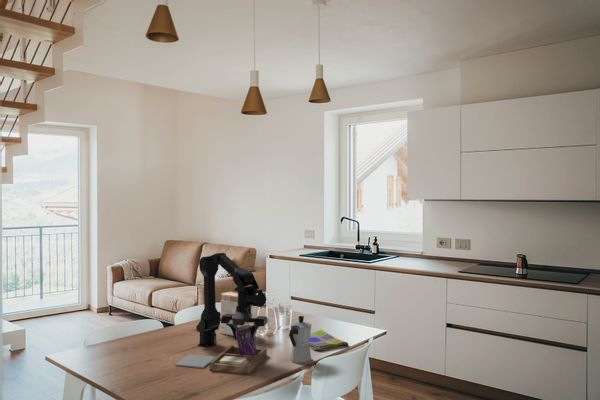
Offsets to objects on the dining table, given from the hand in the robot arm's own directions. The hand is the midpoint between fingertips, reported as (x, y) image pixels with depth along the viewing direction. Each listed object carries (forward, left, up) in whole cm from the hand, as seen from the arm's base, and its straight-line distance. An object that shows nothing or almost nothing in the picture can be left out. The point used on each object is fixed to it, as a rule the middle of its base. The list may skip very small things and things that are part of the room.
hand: (244, 340), depth 196 cm
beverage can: (+2, 0, -7) cm, 7 cm away
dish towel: (+26, +30, -8) cm, 41 cm away
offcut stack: (0, -11, -8) cm, 13 cm away
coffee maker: (+23, +3, -8) cm, 24 cm away
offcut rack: (0, -5, -7) cm, 9 cm away
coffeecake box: (-15, +31, -8) cm, 35 cm away
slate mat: (-17, -9, -7) cm, 21 cm away
